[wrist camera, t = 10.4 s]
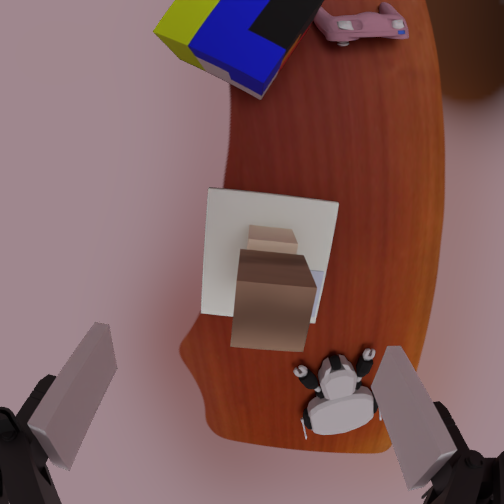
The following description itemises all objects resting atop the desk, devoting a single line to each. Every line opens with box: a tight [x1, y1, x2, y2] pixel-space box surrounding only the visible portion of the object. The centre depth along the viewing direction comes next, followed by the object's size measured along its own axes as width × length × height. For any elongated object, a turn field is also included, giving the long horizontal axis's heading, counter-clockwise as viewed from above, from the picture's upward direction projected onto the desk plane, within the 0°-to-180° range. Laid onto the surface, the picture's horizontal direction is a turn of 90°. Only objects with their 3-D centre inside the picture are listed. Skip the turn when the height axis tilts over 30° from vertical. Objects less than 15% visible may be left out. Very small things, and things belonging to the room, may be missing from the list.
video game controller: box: [313, 2, 409, 46], centre depth 25 cm, size 10×5×7 cm, turn 104°
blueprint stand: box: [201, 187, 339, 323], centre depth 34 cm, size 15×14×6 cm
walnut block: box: [230, 249, 317, 352], centre depth 28 cm, size 6×6×7 cm
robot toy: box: [293, 348, 381, 439], centre depth 42 cm, size 12×4×15 cm
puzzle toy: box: [153, 0, 324, 100], centre depth 23 cm, size 10×10×10 cm
